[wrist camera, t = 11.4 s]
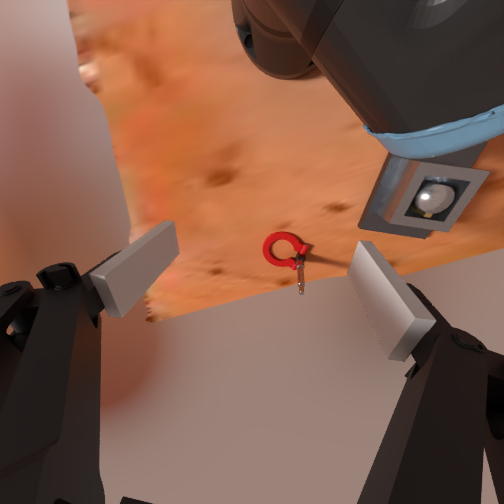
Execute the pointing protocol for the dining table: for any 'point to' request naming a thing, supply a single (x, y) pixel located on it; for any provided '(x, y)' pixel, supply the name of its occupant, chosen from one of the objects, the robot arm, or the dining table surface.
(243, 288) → the dining table surface
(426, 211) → the shaft stand
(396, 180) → the collar
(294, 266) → the tow hook
